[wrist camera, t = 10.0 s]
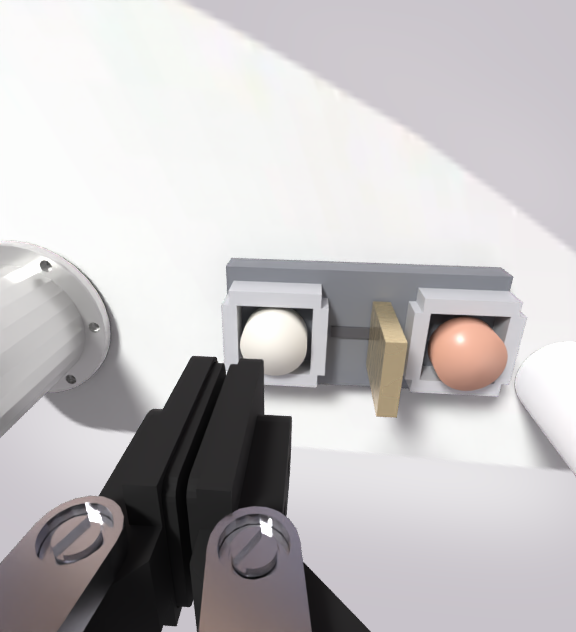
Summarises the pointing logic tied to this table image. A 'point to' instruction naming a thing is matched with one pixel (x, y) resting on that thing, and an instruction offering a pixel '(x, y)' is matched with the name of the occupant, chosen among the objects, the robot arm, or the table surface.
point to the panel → (369, 314)
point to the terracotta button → (467, 353)
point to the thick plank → (385, 359)
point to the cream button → (275, 339)
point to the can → (552, 395)
